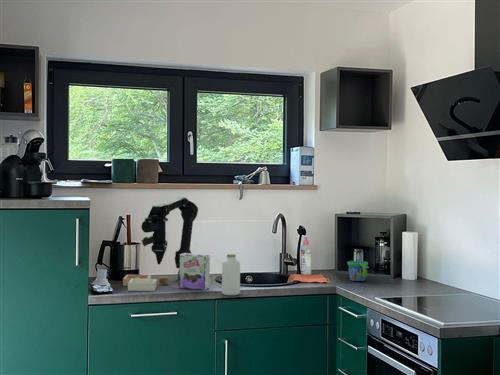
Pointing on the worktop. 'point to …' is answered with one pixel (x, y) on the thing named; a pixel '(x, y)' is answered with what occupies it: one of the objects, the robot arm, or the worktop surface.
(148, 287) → the cream dish
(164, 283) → the walnut block
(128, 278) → the terracotta dish
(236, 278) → the potion bottle
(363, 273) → the snack cup
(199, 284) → the candy box
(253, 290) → the worktop surface
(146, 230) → the robot arm
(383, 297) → the worktop surface
